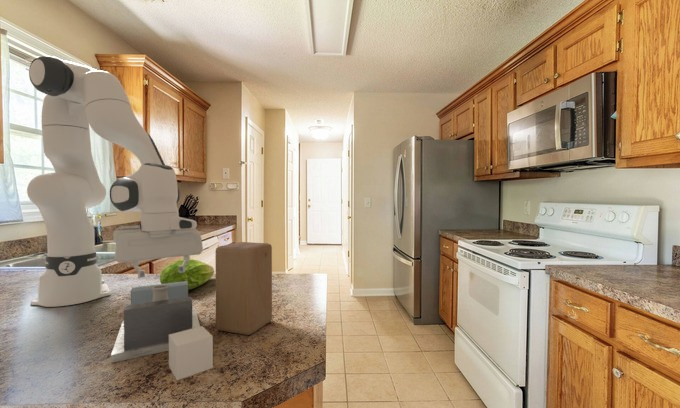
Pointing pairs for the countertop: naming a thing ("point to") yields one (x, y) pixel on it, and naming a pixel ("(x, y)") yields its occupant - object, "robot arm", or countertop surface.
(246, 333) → the wooden block
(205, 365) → the white cube
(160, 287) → the flask
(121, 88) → the robot arm
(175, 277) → the lettuce
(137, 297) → the sliding jaw
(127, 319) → the base
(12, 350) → the countertop surface
